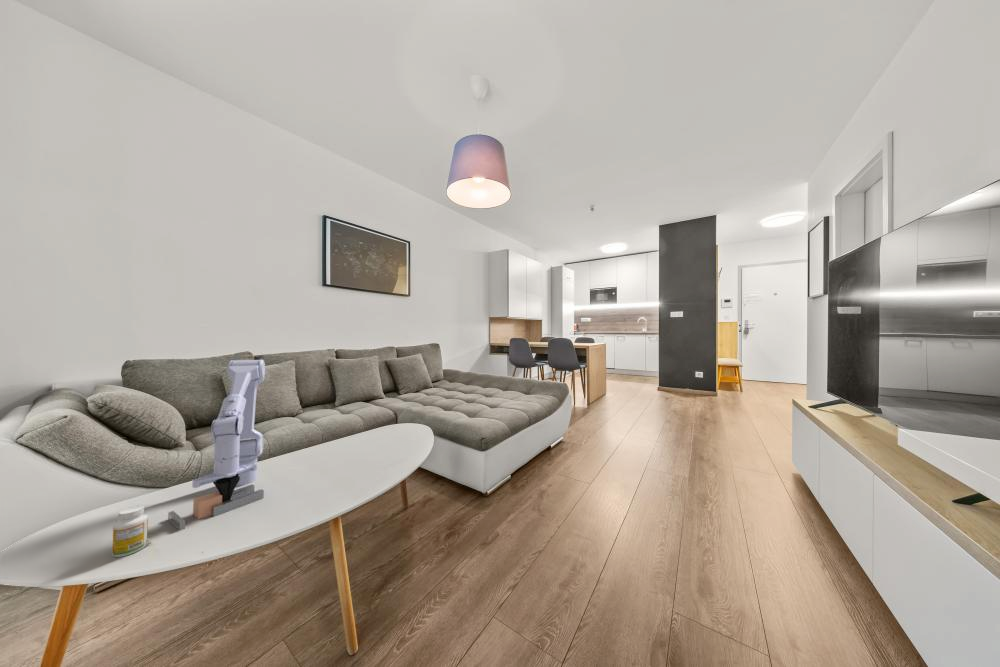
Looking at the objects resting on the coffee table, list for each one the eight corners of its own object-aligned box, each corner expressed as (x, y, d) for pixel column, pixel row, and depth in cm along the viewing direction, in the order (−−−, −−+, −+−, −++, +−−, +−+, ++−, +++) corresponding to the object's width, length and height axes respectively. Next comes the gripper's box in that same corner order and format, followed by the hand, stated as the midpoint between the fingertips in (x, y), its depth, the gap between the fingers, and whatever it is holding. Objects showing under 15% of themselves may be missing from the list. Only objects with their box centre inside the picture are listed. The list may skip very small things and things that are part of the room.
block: (193, 514, 87) (193, 498, 88) (216, 506, 92) (216, 491, 92) (198, 519, 85) (198, 502, 85) (221, 510, 89) (222, 495, 90)
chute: (167, 523, 85) (168, 510, 85) (261, 490, 104) (261, 480, 104) (179, 534, 80) (179, 521, 80) (275, 498, 99) (275, 487, 99)
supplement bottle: (123, 546, 76) (125, 505, 76) (152, 540, 78) (154, 501, 78) (105, 560, 71) (106, 517, 71) (136, 554, 73) (138, 512, 73)
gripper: (199, 467, 84) (197, 518, 84) (261, 451, 97) (260, 495, 96) (190, 462, 88) (189, 511, 87) (251, 447, 100) (250, 490, 100)
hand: (225, 502), depth 92 cm, fingers closed
